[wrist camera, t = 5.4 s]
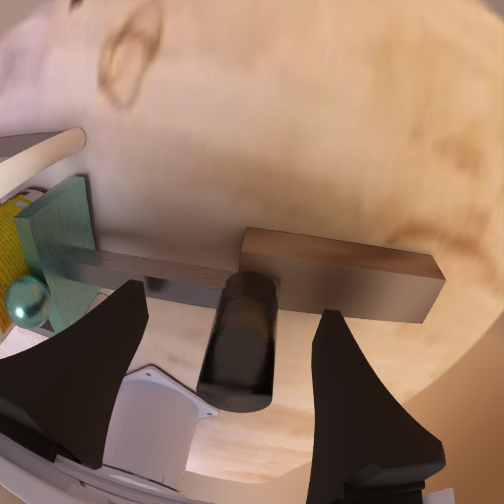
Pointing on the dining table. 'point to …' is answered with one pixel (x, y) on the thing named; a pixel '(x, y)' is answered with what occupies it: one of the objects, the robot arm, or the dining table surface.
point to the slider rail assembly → (155, 285)
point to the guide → (344, 276)
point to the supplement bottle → (11, 250)
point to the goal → (31, 163)
